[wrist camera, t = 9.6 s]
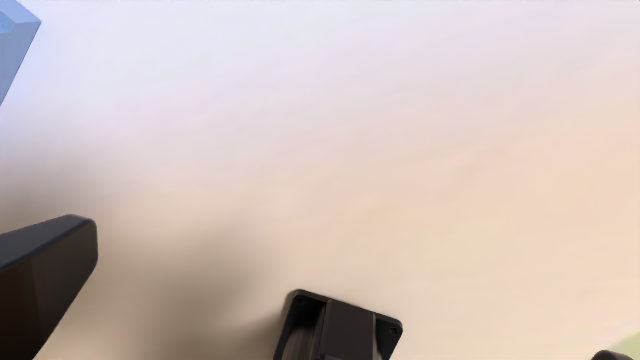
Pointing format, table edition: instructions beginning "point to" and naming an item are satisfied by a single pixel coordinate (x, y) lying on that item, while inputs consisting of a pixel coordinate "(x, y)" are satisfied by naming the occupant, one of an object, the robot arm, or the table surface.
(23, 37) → the blue rectangular tray
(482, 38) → the table surface
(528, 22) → the table surface
